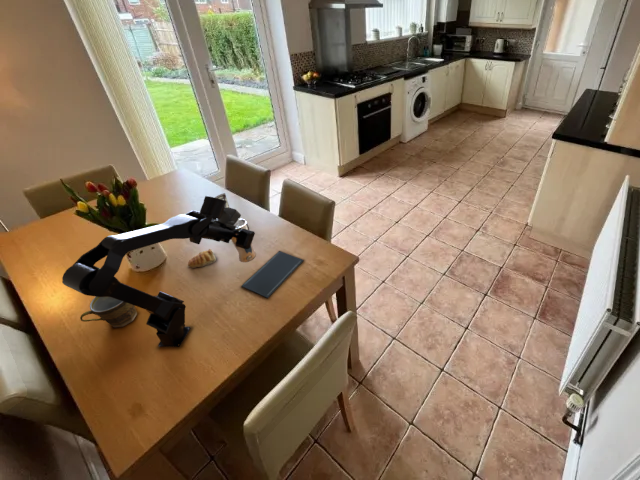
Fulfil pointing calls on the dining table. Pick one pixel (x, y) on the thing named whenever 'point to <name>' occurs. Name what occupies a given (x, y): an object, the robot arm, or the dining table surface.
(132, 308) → the ceramic cup
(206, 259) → the pastry
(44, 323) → the dining table surface
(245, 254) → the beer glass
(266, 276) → the mat
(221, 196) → the food container
